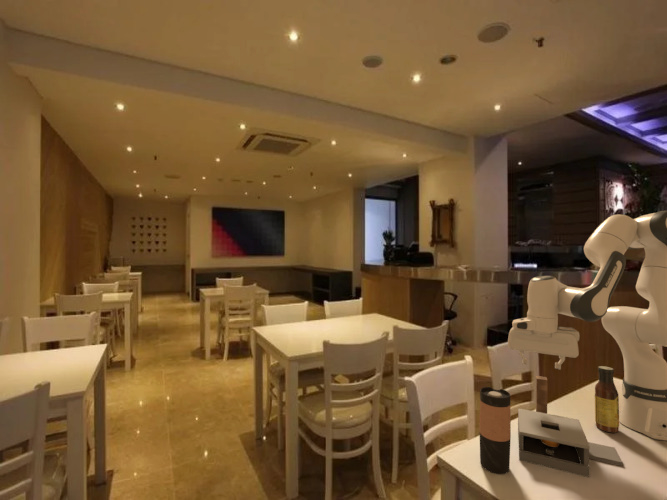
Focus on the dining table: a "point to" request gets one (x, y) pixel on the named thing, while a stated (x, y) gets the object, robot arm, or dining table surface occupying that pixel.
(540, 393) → the brown wooden bar
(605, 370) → the sauce bottle
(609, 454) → the pad
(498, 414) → the travel mug
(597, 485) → the dining table surface
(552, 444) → the button
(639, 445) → the dining table surface
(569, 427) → the box
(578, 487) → the dining table surface
